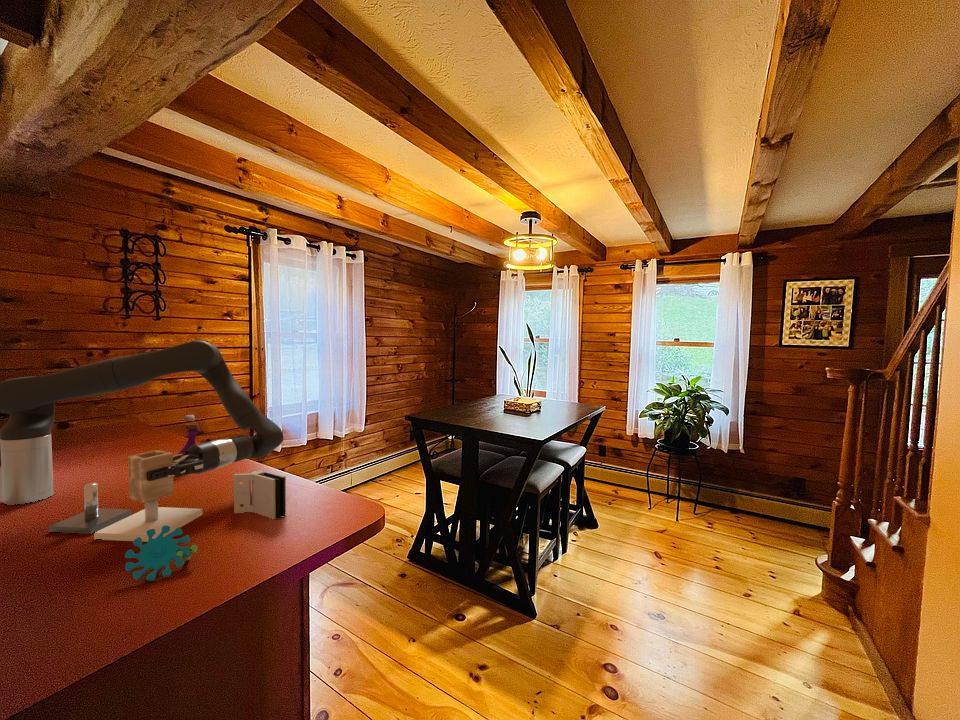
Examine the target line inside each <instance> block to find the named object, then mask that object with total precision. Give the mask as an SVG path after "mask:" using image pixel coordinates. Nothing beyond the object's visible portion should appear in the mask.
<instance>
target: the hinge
mask: <svg viewBox="0 0 960 720" xmlns="http://www.w3.org/2000/svg"><path fill="white" fill-rule="evenodd" d="M286 479H287V477H286V475H283V474H280V473H276V472H273V471H272V472H271V471H268V470H266V471H264V470H261V469H260V470H258V469H257V470H254V471H252V472H250V473H234V474H233V504H234V505H233V506H234V507H233V508H234V509H233V513H234V514H245V513H244V512H252V513H254V512H255V513H254V514H256V513H258V514H257V515H259V514H261V515H260V516H262V515H264V516H267V517H270V518H272V519H271V520H273V519H274V518H280V519H281V517H280V516H285V517H286V515H287V480H286ZM241 481H242V482H241ZM241 505H242V506H241ZM285 514H286V515H285ZM264 516H263V517H264ZM267 517H266V518H267ZM270 518H269V519H270ZM274 520H275V519H274Z"/></svg>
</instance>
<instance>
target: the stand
mask: <svg viewBox="0 0 960 720" xmlns="http://www.w3.org/2000/svg"><path fill="white" fill-rule="evenodd" d="M98 485H99V483H98V482H89V483H86V484H84V485H83V503H84V511H81V512H79V513H77V514H75V515H73V516H71V517H67V518H66V519H63V520H61V521H58V522H56V523H53V524H51V525H48V533H49V532H60V533H59V534H68V533H79V534H78V535H90V534H91V535H92V533H93V534H94V532H96V531H99V530H101V529H103V528H105V527H107V526H110V525H112V524H114V523H116V522H118V521H120V520H122V519H124V518H127V517H129V516H131V515H132V509H124V508H103V507H102V508H101V507H99V486H98ZM61 532H62V533H61Z"/></svg>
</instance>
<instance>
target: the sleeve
mask: <svg viewBox="0 0 960 720" xmlns="http://www.w3.org/2000/svg"><path fill="white" fill-rule="evenodd" d="M173 456H174V455H173V452H170V451H165V450H159V449H155V450H151V451H146V452H141V453H137V454H134V455H133V454H132V455H128V456H127V464H128V465H127V466H128V469H127V470H128V491H129V494H128V495H129V500H132V501H135V502H139V503H141V504H142V503H143V504H145V503H148V502H151V501H154V500H157V499H158V500H159V499H163V498H165V497H169V496H172V495H174V494H175V493H174V491H175V490H174V489H175V487H174V476H172V477H167V476H166V477H163V478H160V479H156V480H153V481H148V480H147V476H146V473H147V472H148V471H151V470H155V469H159V468H162V467H166V468H167V466H169V465H172V464H173Z"/></svg>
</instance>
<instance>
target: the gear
mask: <svg viewBox="0 0 960 720" xmlns="http://www.w3.org/2000/svg"><path fill="white" fill-rule="evenodd" d="M169 531H170V527H169V526H165V525H164V526H163V527H162V531H161V533H160V534H159V536H158V537H157V538H155V539H152V537H153V536H154V535H155V533H156V532H155V529H150V530H147V536H148V537H149V539H148V542H146V544H142V543H143V542H142V539H141V538H140V537H139V538H137V539H135V540H134V541H132V544H133V546H135V547H139V549H140V552H139V553H135V552H134V549H128V550H127V551H126V552H125V555H124V557H125V559H131V558H132V559H134V558H135V559H137V560H139V561H138V562H135V563H134V562H133V561H128V562H126V563H125V571H126V572H130V571H132V570H133V569H135V568H138V567H139V568H140V567H144V568H143V569H141V570H136V571H133V572H132V576H133V578H134V579H135V580H136V581H137V580H139V579H141V578H142V576H143V575H144V574H145V573H146V572H148V571H150V570H153V571H152V572H150V573H148V574H147V575H146V577H145V579H146V581H147V582H154V581H155V580H156V578H157V577H156V576H157V573H158V572H159V571H160V569H162V568H163V567H165V569H163V570H162V572H161V575H162V577H163V578H166V577H169V576H171V575H172V570H171V569H170V564H171V562H172V561H173V560H174V561H175V566H176V568H180V567H181V566H183V565H184V564H185V560H186V561H190V560H191V557H192V555H193V554H194V553H196V552H197V551H198V545H197V544H196V543H195V544H192V545H191V546H179V545H178V543H183V544H189V543H190V537H189V536H190V535H188V534H186V535H184V536H182V537H180V538H174V537H175V536H176V537H177V536H181V535H182V534H183V530H182V527H180V528H179V527H178V528H176V529H175V531H173V532H172V533H170V534H168V535H166V536H165V537H164V536H163V535H164V534H165V533H167V532H169Z"/></svg>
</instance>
